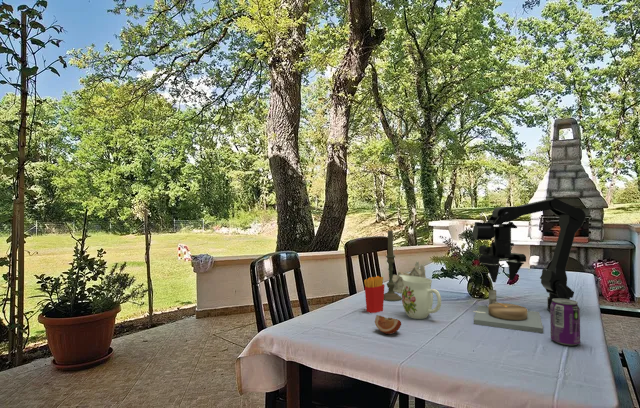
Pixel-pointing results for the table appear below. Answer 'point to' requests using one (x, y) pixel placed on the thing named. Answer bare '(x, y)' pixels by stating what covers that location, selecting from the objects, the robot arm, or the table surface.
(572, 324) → the beverage can
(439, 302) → the pitcher
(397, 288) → the ceramic cottage
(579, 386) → the table surface
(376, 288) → the french fries
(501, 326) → the slate base
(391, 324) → the fruit slice
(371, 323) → the table surface
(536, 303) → the table surface
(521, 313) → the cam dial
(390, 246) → the candlestick holder
